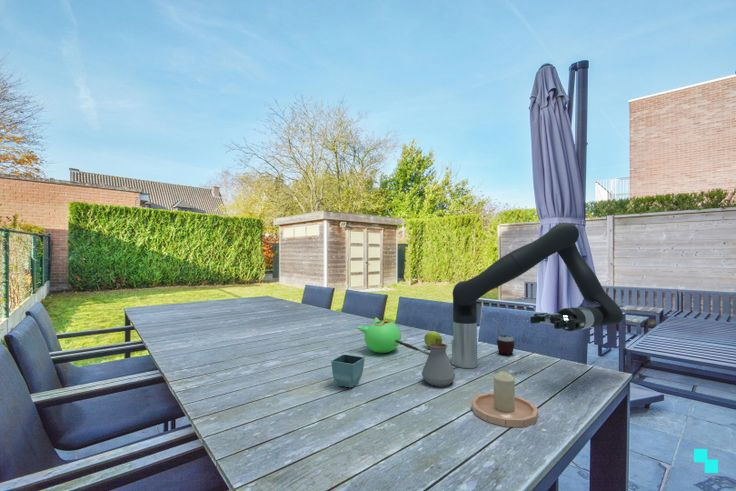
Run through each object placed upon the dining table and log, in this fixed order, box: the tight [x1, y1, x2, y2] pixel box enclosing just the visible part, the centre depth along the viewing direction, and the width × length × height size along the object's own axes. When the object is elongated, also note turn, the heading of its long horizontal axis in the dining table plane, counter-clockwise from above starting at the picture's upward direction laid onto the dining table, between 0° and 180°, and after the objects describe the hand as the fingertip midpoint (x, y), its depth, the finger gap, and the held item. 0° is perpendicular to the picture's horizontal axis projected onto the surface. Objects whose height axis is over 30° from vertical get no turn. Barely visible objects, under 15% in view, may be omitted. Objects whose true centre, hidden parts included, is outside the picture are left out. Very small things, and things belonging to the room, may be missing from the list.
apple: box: [423, 330, 443, 348], centre depth 161 cm, size 8×9×8 cm
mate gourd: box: [492, 318, 515, 358], centre depth 151 cm, size 8×8×15 cm
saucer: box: [470, 392, 539, 428], centre depth 97 cm, size 17×17×2 cm
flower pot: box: [330, 353, 365, 388], centre depth 118 cm, size 9×9×9 cm
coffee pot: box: [394, 340, 456, 387], centre depth 119 cm, size 21×12×15 cm, turn 92°
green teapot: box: [356, 317, 402, 354], centre depth 157 cm, size 18×17×15 cm
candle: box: [493, 370, 516, 412], centre depth 97 cm, size 6×6×10 cm
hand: (542, 322), depth 109 cm, fingers open, 8 cm apart
